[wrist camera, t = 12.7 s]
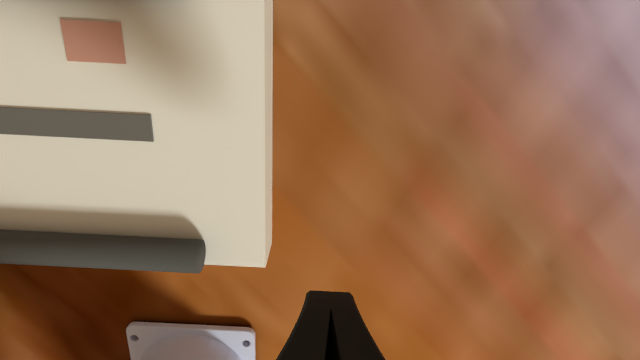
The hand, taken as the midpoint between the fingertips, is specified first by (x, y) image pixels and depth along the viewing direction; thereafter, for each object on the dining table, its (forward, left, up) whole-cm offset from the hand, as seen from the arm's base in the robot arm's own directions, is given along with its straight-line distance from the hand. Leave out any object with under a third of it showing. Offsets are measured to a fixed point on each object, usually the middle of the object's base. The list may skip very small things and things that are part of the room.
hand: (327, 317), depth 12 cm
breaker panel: (+4, +16, -9) cm, 19 cm away
